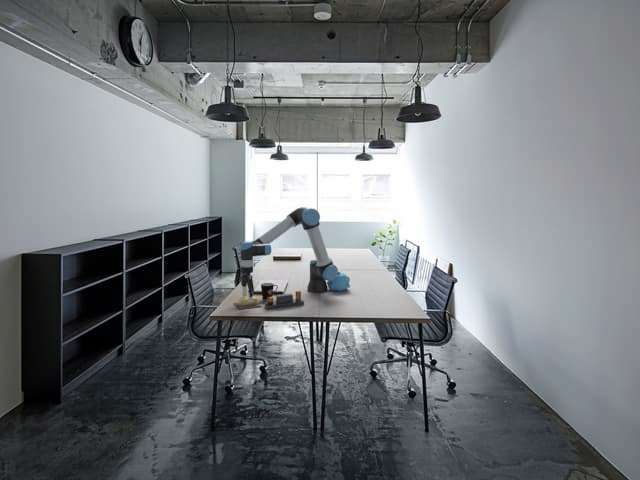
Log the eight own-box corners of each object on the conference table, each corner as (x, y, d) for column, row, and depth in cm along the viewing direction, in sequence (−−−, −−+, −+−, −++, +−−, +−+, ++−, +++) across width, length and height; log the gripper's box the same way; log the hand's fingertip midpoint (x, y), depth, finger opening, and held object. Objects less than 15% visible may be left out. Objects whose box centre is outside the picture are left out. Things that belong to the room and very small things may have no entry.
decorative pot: (351, 292, 276) (351, 274, 274) (329, 292, 274) (329, 274, 272) (346, 287, 292) (347, 269, 290) (326, 287, 290) (326, 269, 289)
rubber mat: (254, 301, 250) (254, 300, 250) (261, 306, 237) (261, 305, 237) (233, 303, 243) (233, 302, 243) (239, 309, 231) (239, 308, 231)
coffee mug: (261, 300, 251) (261, 286, 250) (260, 297, 259) (260, 283, 258) (278, 299, 253) (278, 285, 252) (277, 296, 262) (277, 282, 261)
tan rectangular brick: (254, 302, 245) (254, 296, 245) (257, 304, 240) (257, 298, 240) (237, 304, 240) (237, 298, 240) (240, 306, 235) (240, 300, 235)
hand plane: (299, 302, 249) (299, 289, 248) (304, 304, 242) (304, 292, 241) (264, 306, 238) (264, 293, 237) (268, 309, 232) (268, 296, 231)
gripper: (236, 263, 247) (236, 295, 249) (246, 270, 225) (247, 304, 227) (247, 262, 250) (247, 293, 253) (258, 269, 228) (259, 303, 231)
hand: (247, 299), depth 240 cm, fingers open, 13 cm apart
